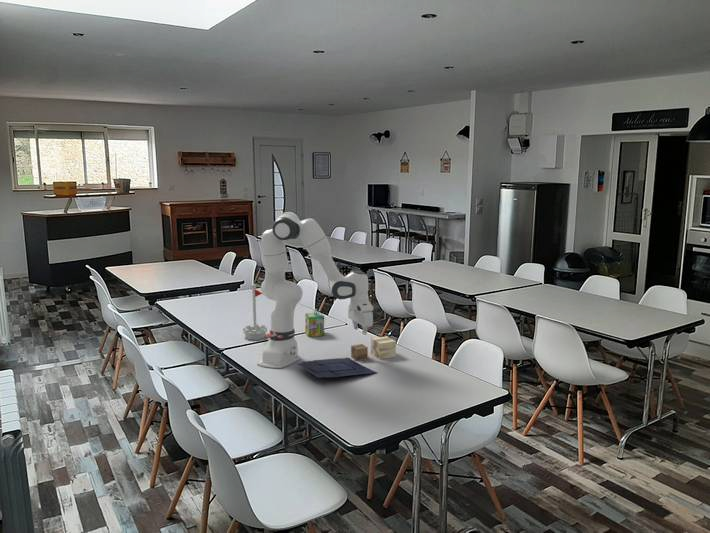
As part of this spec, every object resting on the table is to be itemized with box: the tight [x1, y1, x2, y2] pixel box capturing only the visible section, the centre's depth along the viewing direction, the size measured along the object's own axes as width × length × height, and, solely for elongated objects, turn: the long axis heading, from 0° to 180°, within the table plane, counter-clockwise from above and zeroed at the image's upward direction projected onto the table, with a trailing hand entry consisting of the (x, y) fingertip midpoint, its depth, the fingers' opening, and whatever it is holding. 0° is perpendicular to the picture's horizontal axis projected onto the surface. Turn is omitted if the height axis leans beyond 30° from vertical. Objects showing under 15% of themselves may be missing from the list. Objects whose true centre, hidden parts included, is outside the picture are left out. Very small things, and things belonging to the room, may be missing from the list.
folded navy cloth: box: [296, 357, 378, 379], centre depth 241 cm, size 24×30×4 cm
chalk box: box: [304, 308, 325, 338], centre depth 297 cm, size 9×9×15 cm
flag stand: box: [242, 283, 268, 340], centre depth 292 cm, size 13×13×30 cm
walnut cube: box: [350, 343, 369, 362], centre depth 259 cm, size 6×6×6 cm
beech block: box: [370, 335, 397, 360], centre depth 264 cm, size 9×9×8 cm
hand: (360, 331), depth 258 cm, fingers open, 8 cm apart
